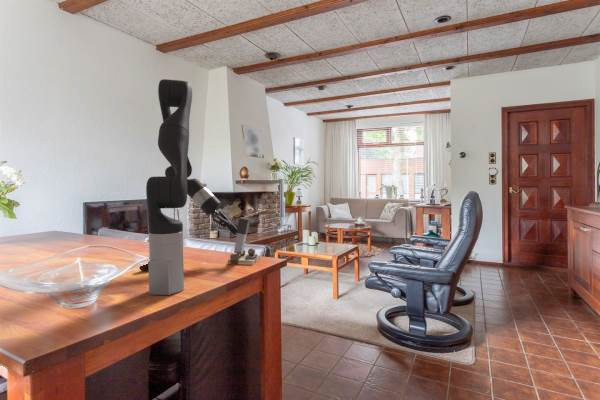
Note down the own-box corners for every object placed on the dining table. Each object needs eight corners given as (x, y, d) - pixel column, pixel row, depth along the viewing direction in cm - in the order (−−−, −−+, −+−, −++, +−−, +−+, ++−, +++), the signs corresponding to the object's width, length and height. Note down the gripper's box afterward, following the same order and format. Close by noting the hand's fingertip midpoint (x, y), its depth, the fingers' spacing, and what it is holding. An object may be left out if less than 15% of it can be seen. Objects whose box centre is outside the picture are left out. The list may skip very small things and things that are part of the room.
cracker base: (253, 264, 131) (253, 251, 131) (227, 264, 132) (227, 250, 132) (259, 258, 141) (259, 246, 141) (235, 258, 142) (235, 245, 142)
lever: (239, 259, 134) (247, 220, 133) (230, 257, 134) (238, 218, 133) (244, 256, 140) (251, 218, 139) (235, 254, 140) (242, 216, 139)
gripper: (206, 195, 130) (238, 228, 130) (218, 194, 143) (247, 224, 143) (193, 209, 131) (224, 242, 130) (206, 206, 144) (235, 236, 144)
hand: (236, 232), depth 137 cm, fingers closed
